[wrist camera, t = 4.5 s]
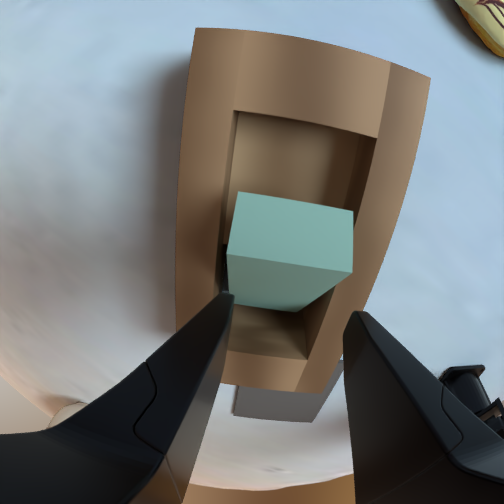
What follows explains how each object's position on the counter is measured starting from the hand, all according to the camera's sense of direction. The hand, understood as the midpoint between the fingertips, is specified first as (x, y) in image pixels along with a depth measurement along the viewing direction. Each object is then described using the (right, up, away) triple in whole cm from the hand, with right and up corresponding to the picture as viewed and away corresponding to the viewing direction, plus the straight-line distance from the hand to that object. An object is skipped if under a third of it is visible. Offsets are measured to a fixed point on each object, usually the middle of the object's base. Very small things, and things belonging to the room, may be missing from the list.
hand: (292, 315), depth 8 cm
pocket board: (+1, +4, +10) cm, 11 cm away
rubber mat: (+2, -12, +19) cm, 23 cm away
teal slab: (0, +2, +8) cm, 8 cm away
